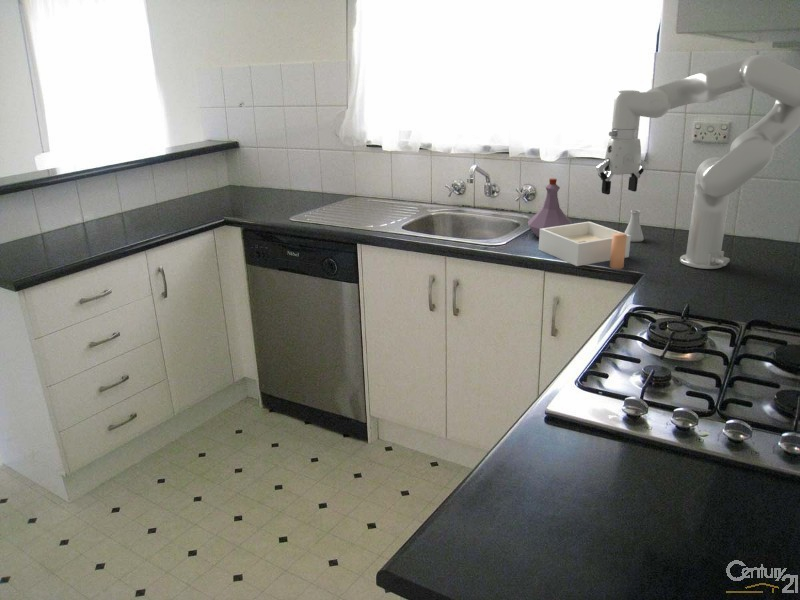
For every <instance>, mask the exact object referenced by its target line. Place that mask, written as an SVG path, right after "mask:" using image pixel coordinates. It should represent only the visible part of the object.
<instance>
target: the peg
mask: <svg viewBox="0 0 800 600" xmlns="http://www.w3.org/2000/svg"><path fill="white" fill-rule="evenodd" d="M623 233H624V232H622V233H614V234H613V236H612V246H611V257H610V260H609V268H611V269H614V270H622V269H624V265H625V258H624V257H625V247H626V238H627V235H626V234H623Z"/></svg>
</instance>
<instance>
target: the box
mask: <svg viewBox="0 0 800 600" xmlns="http://www.w3.org/2000/svg"><path fill="white" fill-rule="evenodd" d="M614 233H623V234H625V232H622V231H618V230H615V229H613V228H611V227H606V226H605V225H600V224H598V223H594V222H592V221H584V222H577V223H576V222H575V223H572V224H569V225H562V226H555V227H549V228H542V229H540V232H539V237H538V250H539V251H541V252H543V253H545V254H548V255H550V256H552V257H554V258H558V260H559V259H560V260H561V261H564V262H566V263H568V264H571V265H573V266H575V267H580V266H585V265H586V266H587V265H590V264H592V265H593V264H597V263H602V262H608V261H609V262H610V257H611V246H612V236H613V234H614ZM626 235H627V238H626V247H625V257H624V259H625V258H629V257H630V249H631V241H630V240H631V235H628V234H626Z"/></svg>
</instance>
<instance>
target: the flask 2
mask: <svg viewBox="0 0 800 600" xmlns="http://www.w3.org/2000/svg"><path fill="white" fill-rule="evenodd" d="M641 212H642V211H641V210H638V209H631V210H630V213H631V214H630V215H631V216H630V220H629V222H628V224H627V227H626V229H625V230H624V233H625V234H628V235H631V240H630V242H635V243H636V242H643V241H644V240H645V238H644V234H643V231H642V227H641V223H640V214H641Z"/></svg>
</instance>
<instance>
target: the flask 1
mask: <svg viewBox="0 0 800 600" xmlns="http://www.w3.org/2000/svg"><path fill="white" fill-rule="evenodd" d="M557 180H558V179H557V178H549V181H548V182H549V183H548V184H547V185H545V190H546V197H545V199H544V202H543V206H542V207H541V208H540V209H539V210H538V212H536V213H535V214H534V215H533V216H532V217H531V218H530V219H529V220H528V221H527V224H528V227H529V229H530V230H531V231H532V232H533V233H534V235H535V236H536V238H539V232H540V229H542V228H549V227H555V226H562V225H569V224H573V222H572V221H571V219H569V217H568V216H567V215H566V214H565V213H564V212H563V210H562V209H561V207H560V203H559V198H558V194H559V193H558V192H559V190H560V186H559V185H558V184H557Z"/></svg>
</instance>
